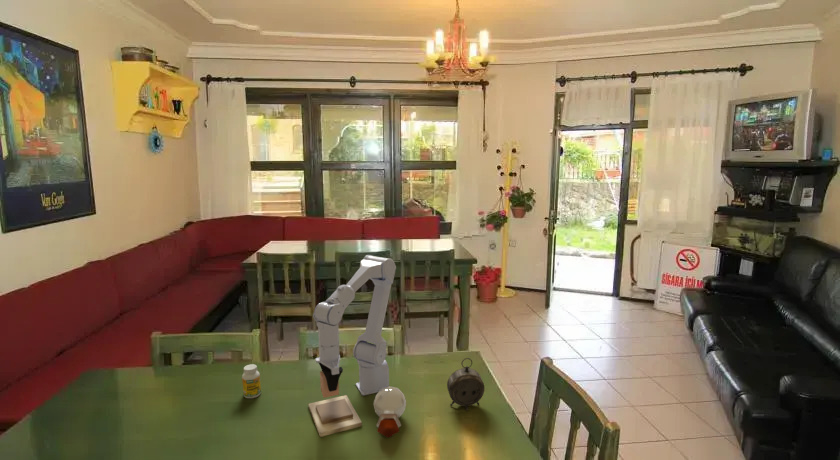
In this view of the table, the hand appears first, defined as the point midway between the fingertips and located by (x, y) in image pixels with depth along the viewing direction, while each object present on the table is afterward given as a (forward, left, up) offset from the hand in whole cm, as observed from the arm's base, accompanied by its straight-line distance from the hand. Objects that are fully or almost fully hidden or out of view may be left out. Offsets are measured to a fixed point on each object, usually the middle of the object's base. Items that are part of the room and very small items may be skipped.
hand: (330, 386), depth 137 cm
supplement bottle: (+20, -22, -10) cm, 32 cm away
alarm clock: (-39, +13, -10) cm, 42 cm away
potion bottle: (-15, +11, -10) cm, 21 cm away
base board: (-1, +1, -9) cm, 9 cm away
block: (0, 0, -2) cm, 2 cm away
